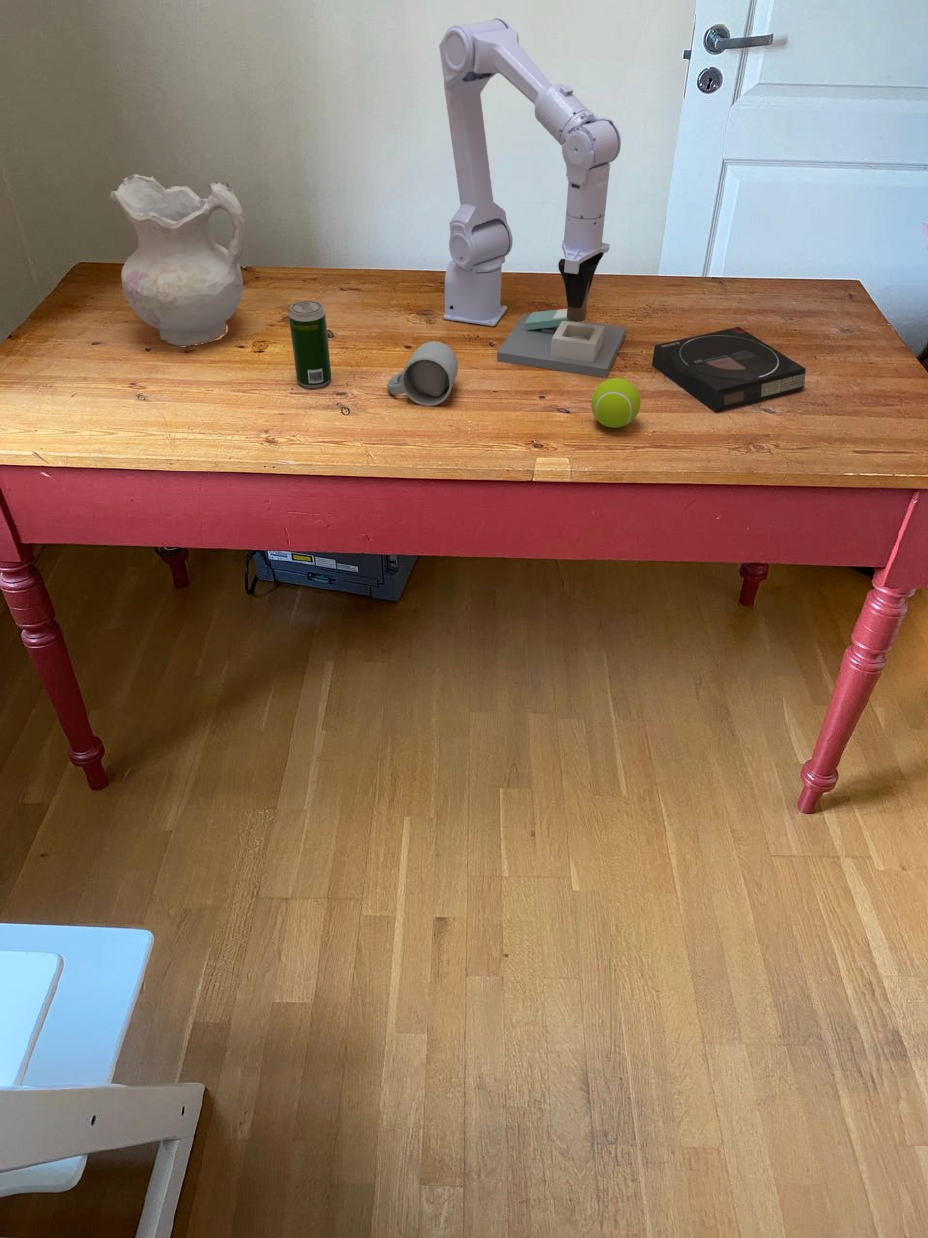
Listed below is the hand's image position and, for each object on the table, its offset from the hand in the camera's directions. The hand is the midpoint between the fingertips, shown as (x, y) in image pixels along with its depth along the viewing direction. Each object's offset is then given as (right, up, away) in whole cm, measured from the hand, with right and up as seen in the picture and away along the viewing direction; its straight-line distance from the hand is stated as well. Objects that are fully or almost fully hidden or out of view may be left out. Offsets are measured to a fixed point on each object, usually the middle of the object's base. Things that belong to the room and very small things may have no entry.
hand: (577, 302), depth 147 cm
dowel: (0, -2, +2) cm, 2 cm away
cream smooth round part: (+1, -6, +5) cm, 8 cm away
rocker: (-3, +1, +10) cm, 10 cm away
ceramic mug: (-24, -15, -3) cm, 29 cm away
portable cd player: (+24, -12, +2) cm, 27 cm away
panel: (-1, -5, +9) cm, 10 cm away
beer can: (-41, -13, 0) cm, 43 cm away
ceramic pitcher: (-63, -1, +13) cm, 64 cm away
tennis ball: (+4, -21, -10) cm, 24 cm away
